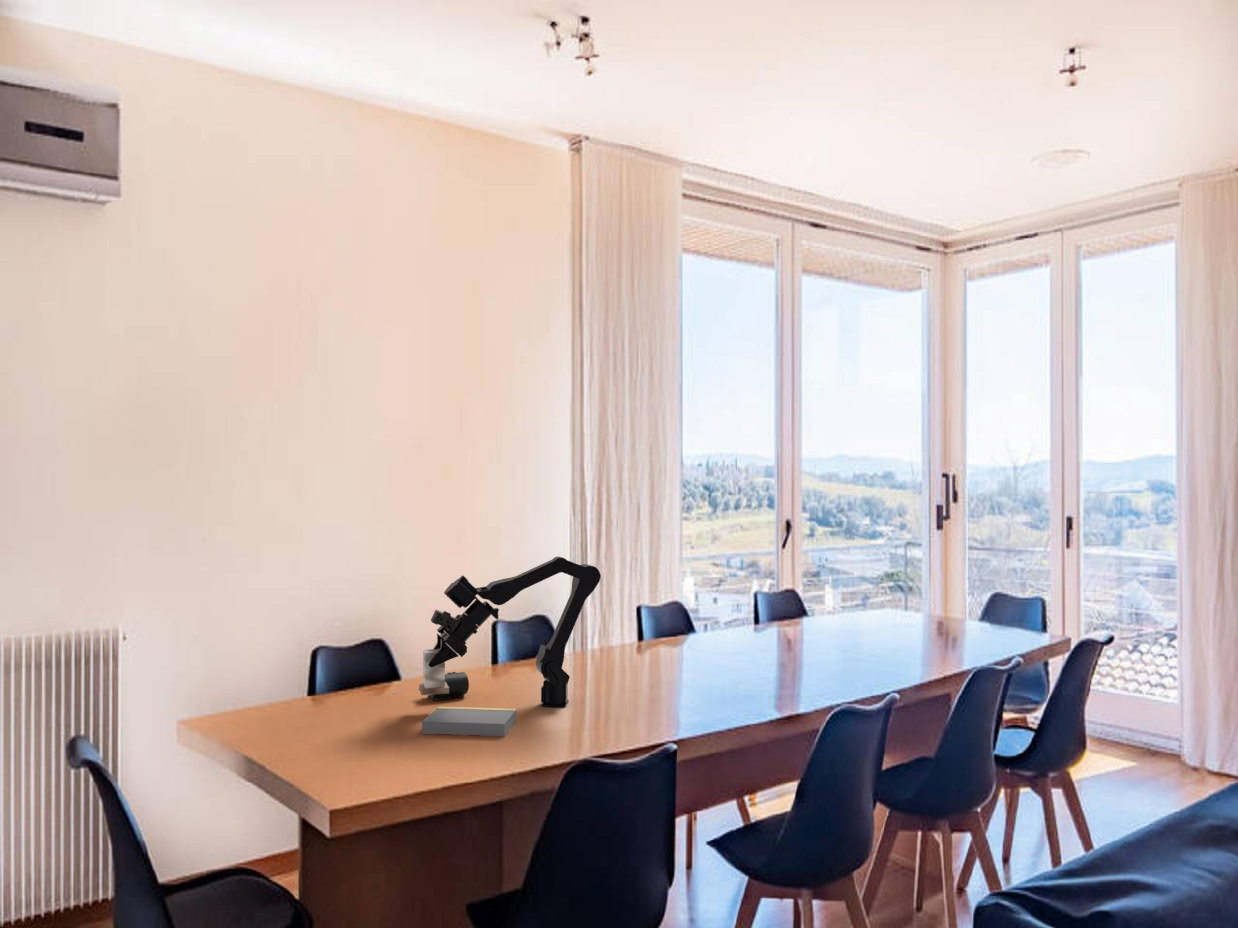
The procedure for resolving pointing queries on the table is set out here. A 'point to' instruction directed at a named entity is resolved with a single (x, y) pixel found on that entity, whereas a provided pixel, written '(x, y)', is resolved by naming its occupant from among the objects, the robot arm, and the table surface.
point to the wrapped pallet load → (433, 676)
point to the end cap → (454, 686)
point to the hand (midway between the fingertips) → (428, 664)
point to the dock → (469, 721)
